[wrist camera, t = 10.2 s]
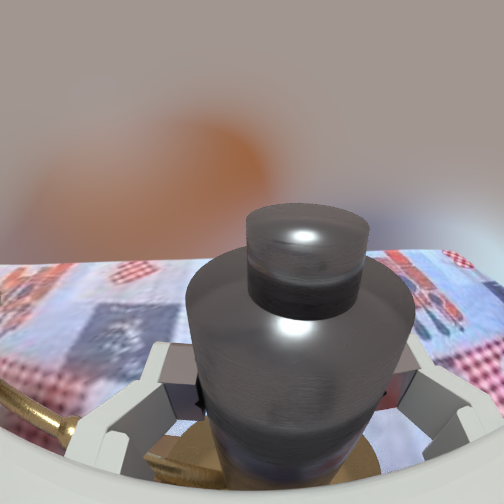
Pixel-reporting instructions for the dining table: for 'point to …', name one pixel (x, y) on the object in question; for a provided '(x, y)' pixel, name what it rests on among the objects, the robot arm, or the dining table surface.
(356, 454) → the balance
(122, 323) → the dining table surface
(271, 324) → the iron weight
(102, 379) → the dining table surface
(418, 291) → the dining table surface
